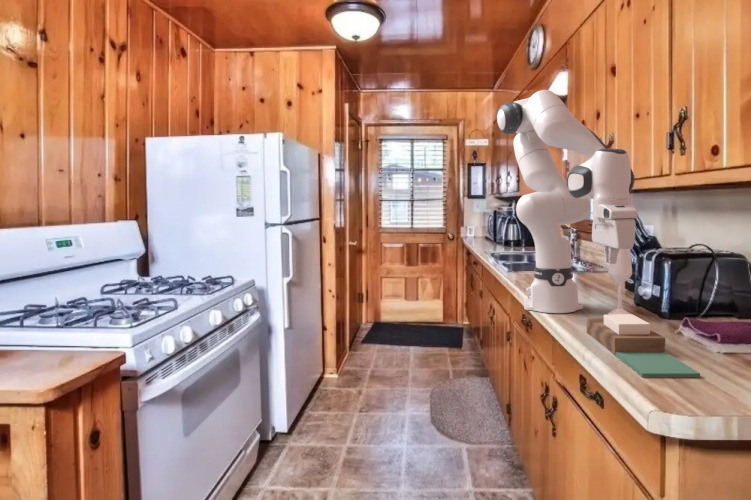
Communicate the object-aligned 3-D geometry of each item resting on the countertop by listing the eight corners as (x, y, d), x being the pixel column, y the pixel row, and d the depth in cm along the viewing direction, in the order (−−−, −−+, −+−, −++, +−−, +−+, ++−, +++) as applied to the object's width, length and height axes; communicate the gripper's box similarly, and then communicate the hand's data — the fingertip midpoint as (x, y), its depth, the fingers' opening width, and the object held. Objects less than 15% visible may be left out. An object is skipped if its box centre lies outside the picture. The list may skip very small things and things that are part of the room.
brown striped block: (586, 332, 132) (586, 317, 131) (628, 331, 131) (629, 317, 130) (614, 354, 112) (614, 338, 112) (664, 354, 111) (665, 337, 110)
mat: (615, 355, 112) (615, 352, 112) (665, 355, 110) (666, 352, 110) (642, 377, 98) (642, 373, 98) (700, 377, 97) (700, 373, 96)
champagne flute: (602, 313, 153) (603, 237, 151) (618, 310, 155) (619, 236, 153) (620, 317, 147) (621, 238, 144) (636, 314, 149) (637, 237, 147)
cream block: (603, 324, 124) (603, 314, 124) (632, 323, 124) (632, 314, 123) (618, 334, 114) (618, 324, 114) (650, 334, 114) (650, 323, 113)
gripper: (585, 210, 137) (585, 259, 138) (613, 211, 117) (612, 268, 118) (609, 209, 136) (608, 258, 137) (640, 211, 116) (640, 268, 117)
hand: (610, 263), depth 128 cm, fingers closed
